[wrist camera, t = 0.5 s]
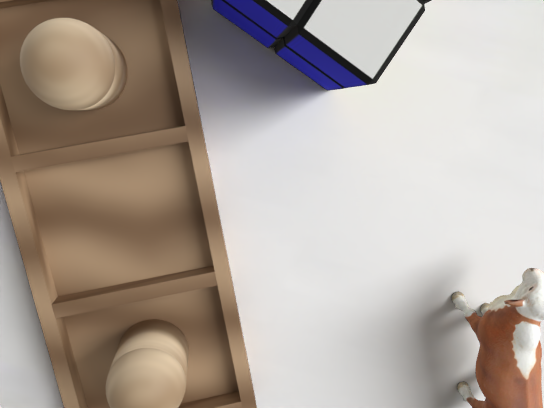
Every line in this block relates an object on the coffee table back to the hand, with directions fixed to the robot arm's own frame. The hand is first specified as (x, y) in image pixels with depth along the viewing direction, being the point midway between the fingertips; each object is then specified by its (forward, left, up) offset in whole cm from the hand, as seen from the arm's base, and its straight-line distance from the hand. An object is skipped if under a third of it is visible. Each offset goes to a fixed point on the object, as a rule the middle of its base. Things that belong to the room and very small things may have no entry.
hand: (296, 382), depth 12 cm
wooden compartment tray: (0, -8, -25) cm, 26 cm away
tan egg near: (-10, -8, -25) cm, 28 cm away
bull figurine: (+14, +16, -25) cm, 33 cm away
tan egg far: (+10, -8, -25) cm, 28 cm away
